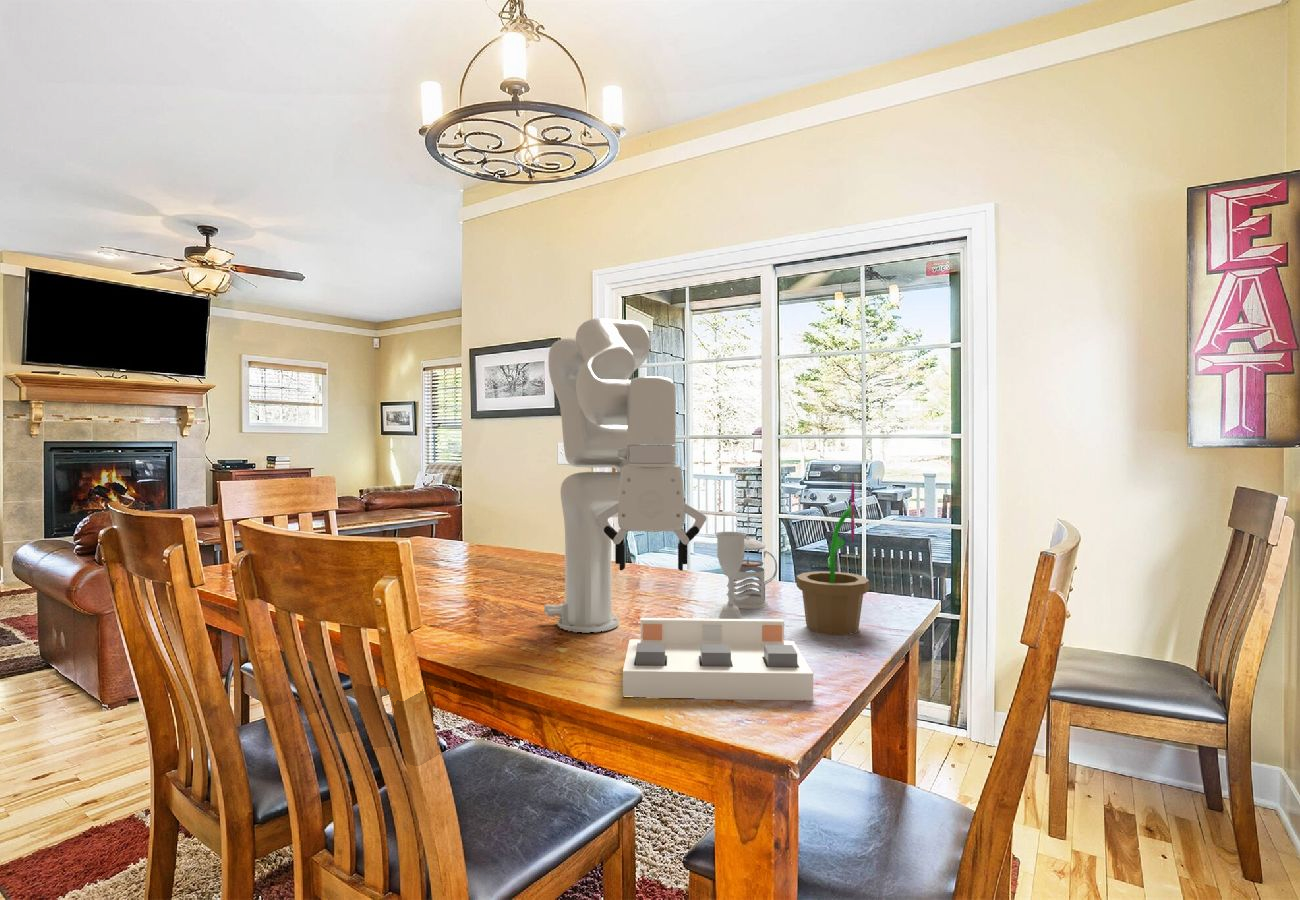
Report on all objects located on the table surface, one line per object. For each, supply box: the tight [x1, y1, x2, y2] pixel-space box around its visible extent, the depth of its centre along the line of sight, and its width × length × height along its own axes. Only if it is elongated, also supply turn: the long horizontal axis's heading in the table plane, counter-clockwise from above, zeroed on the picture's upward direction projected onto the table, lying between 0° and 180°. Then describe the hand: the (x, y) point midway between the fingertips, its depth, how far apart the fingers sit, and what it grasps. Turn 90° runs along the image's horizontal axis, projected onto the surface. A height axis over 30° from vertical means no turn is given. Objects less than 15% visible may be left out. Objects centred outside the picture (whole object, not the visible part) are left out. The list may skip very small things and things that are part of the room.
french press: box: [726, 496, 778, 610], centre depth 157 cm, size 10×12×25 cm
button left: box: [636, 643, 665, 666], centre depth 104 cm, size 4×4×3 cm
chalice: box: [714, 531, 748, 619], centre depth 145 cm, size 7×7×18 cm
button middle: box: [701, 644, 731, 667], centre depth 104 cm, size 4×4×3 cm
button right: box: [764, 645, 797, 668], centre depth 103 cm, size 4×4×3 cm
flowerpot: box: [796, 481, 870, 636], centre depth 137 cm, size 14×14×30 cm
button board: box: [622, 617, 814, 702], centre depth 107 cm, size 28×16×8 cm, turn 88°
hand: (651, 568), depth 104 cm, fingers open, 8 cm apart
